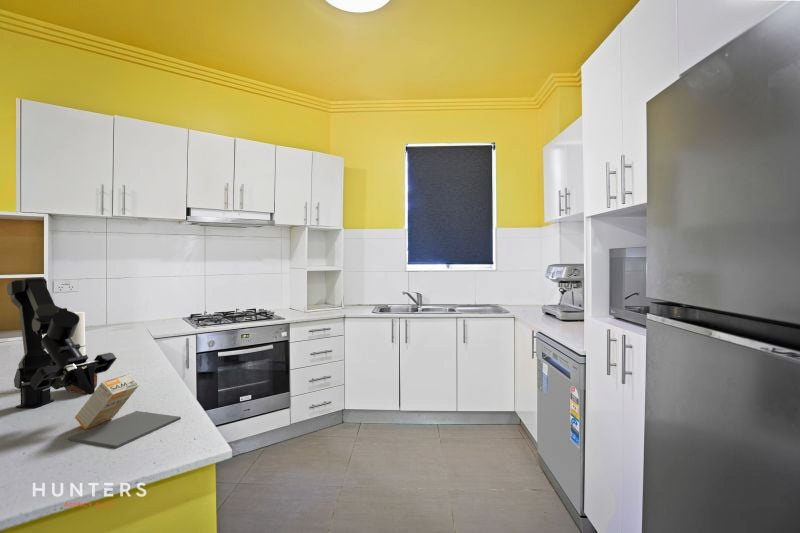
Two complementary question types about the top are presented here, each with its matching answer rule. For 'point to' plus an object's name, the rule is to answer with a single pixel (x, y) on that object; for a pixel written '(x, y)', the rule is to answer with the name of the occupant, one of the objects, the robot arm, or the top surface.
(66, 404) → the top surface
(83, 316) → the cylindrical container
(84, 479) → the top surface
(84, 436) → the mat
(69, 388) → the tin
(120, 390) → the supplement box
